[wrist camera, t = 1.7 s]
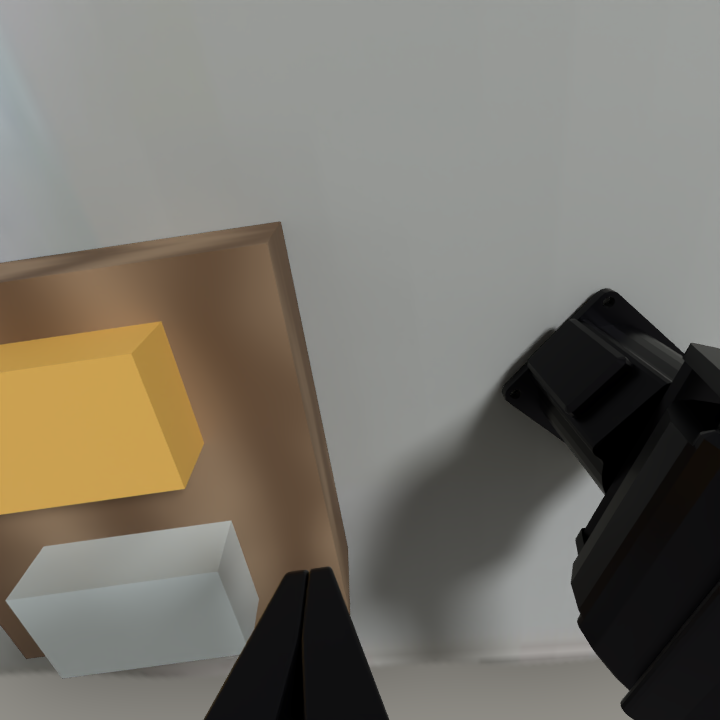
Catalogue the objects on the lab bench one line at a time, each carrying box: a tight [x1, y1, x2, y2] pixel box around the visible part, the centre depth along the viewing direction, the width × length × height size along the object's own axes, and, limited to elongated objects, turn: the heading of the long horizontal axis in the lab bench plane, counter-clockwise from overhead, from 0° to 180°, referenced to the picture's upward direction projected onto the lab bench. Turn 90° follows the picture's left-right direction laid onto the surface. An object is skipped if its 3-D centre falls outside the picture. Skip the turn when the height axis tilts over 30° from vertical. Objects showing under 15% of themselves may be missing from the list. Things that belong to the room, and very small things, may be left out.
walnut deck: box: [0, 222, 350, 659], centre depth 20 cm, size 16×18×4 cm
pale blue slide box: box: [5, 521, 259, 679], centre depth 19 cm, size 8×5×2 cm, turn 98°
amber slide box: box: [0, 321, 204, 515], centre depth 15 cm, size 8×5×2 cm, turn 98°
